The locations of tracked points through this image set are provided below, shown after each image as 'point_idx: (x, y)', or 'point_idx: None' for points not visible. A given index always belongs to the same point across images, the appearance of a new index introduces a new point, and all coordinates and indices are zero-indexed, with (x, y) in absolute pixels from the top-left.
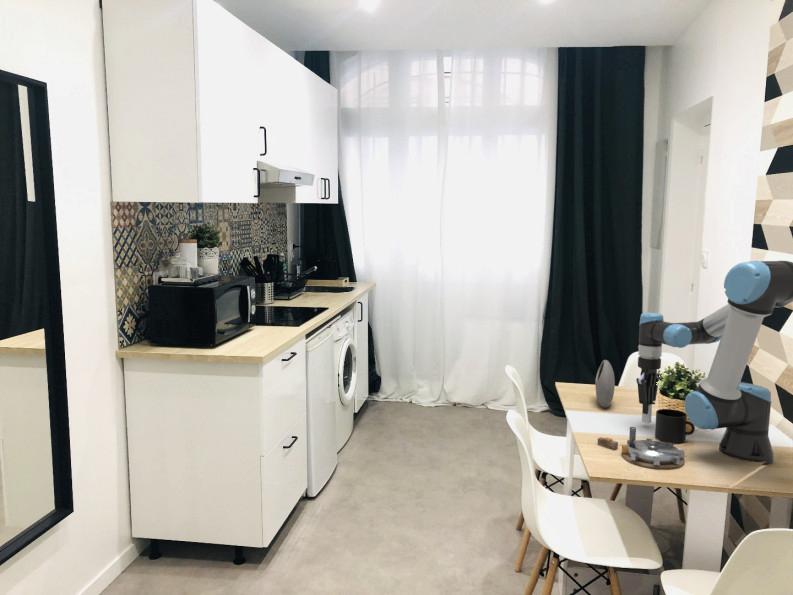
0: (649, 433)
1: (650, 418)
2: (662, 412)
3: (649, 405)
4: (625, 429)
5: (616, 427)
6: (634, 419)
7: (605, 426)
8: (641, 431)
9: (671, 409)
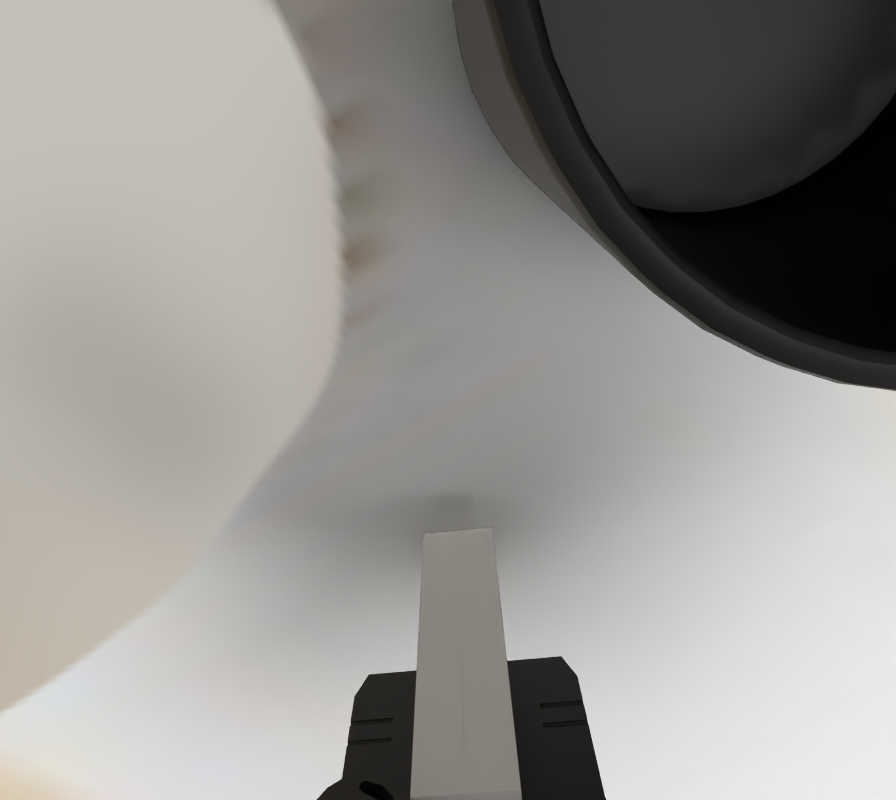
0: (687, 356)
1: (451, 574)
2: (778, 304)
3: (519, 794)
4: (774, 623)
5: (782, 715)
6: (302, 770)
7: (844, 792)
8: (690, 469)
9: (578, 131)
